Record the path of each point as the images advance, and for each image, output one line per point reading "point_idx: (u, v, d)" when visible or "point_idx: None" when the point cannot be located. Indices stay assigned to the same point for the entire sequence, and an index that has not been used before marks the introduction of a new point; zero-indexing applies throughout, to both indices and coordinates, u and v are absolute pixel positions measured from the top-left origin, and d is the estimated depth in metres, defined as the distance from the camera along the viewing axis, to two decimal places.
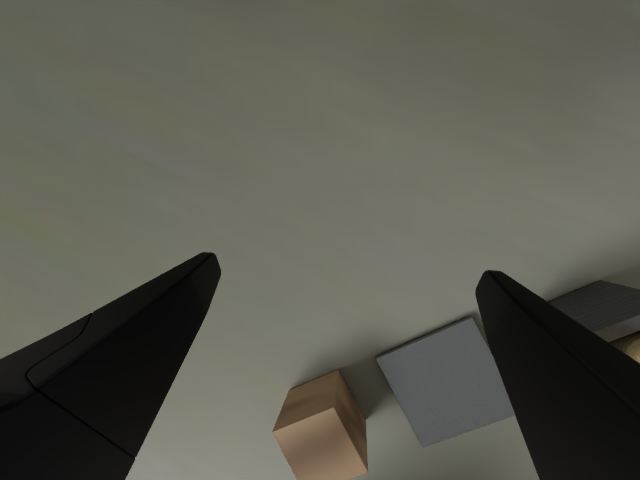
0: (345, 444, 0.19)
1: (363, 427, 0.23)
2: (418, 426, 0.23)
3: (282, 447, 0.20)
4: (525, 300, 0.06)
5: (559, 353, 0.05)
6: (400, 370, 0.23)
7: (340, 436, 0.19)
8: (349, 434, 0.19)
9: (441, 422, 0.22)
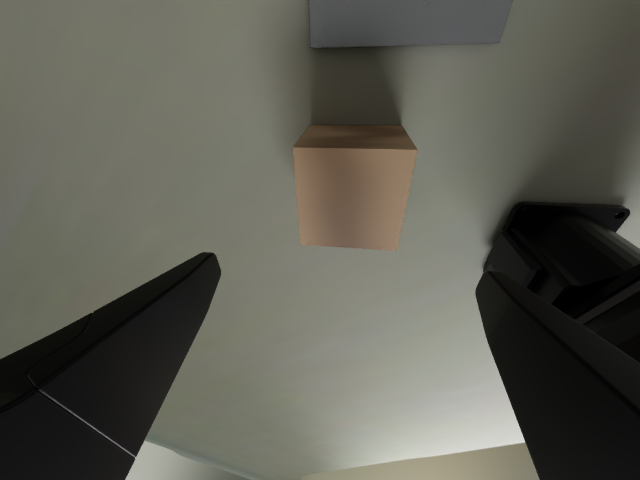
0: (357, 160, 0.11)
1: (396, 130, 0.14)
2: (459, 27, 0.12)
3: (324, 243, 0.14)
4: (525, 300, 0.06)
5: (559, 353, 0.05)
6: (347, 6, 0.12)
7: (341, 161, 0.12)
8: (350, 146, 0.11)
9: None
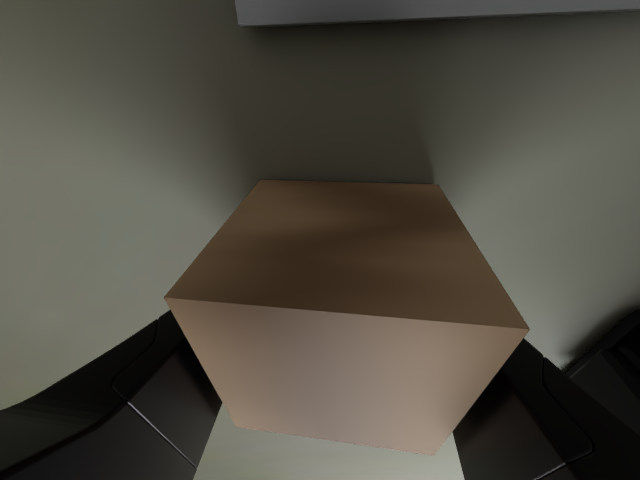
0: (342, 334, 0.04)
1: (432, 205, 0.06)
2: None
3: (283, 431, 0.07)
4: None
5: None
6: None
7: (301, 331, 0.04)
8: (323, 295, 0.04)
9: None
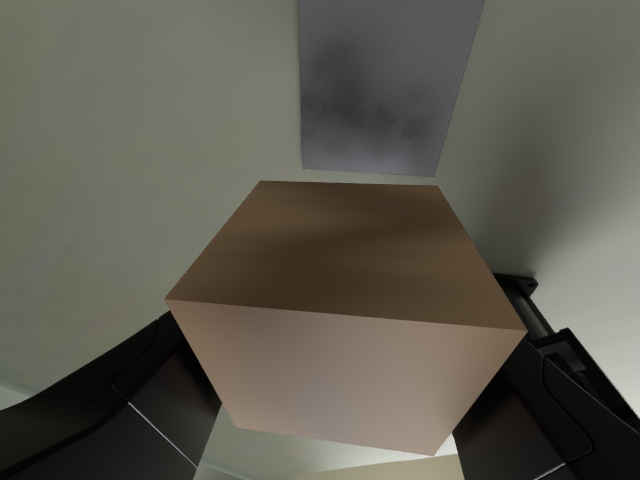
0: (342, 336, 0.04)
1: (431, 206, 0.07)
2: (406, 166, 0.17)
3: (282, 431, 0.07)
4: None
5: None
6: (328, 148, 0.17)
7: (301, 333, 0.04)
8: (323, 297, 0.04)
9: (419, 136, 0.16)
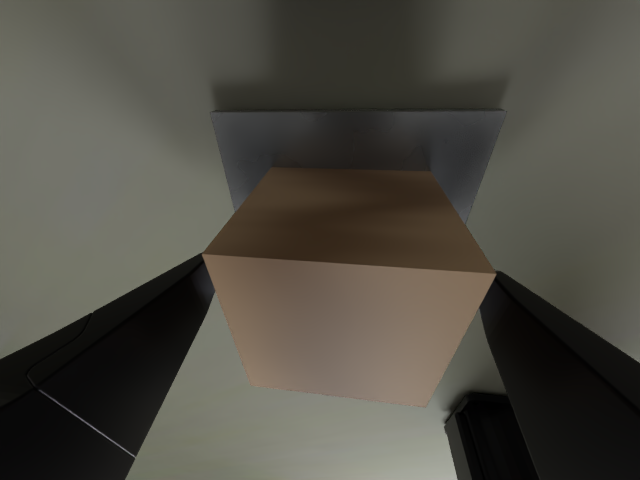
0: (349, 284, 0.05)
1: (424, 187, 0.07)
2: None
3: (292, 387, 0.08)
4: (525, 300, 0.06)
5: (559, 353, 0.05)
6: None
7: (315, 283, 0.05)
8: (333, 252, 0.05)
9: None
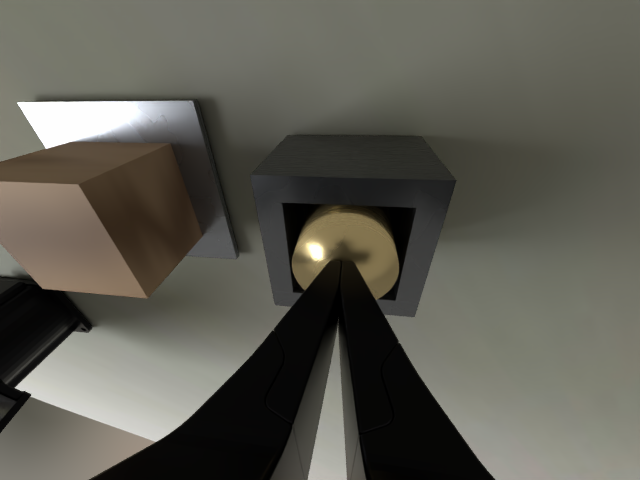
0: (108, 253, 0.10)
1: (188, 242, 0.14)
2: None
3: None
4: (349, 287, 0.07)
5: None
6: (67, 141, 0.13)
7: (99, 239, 0.10)
8: (122, 242, 0.10)
9: None
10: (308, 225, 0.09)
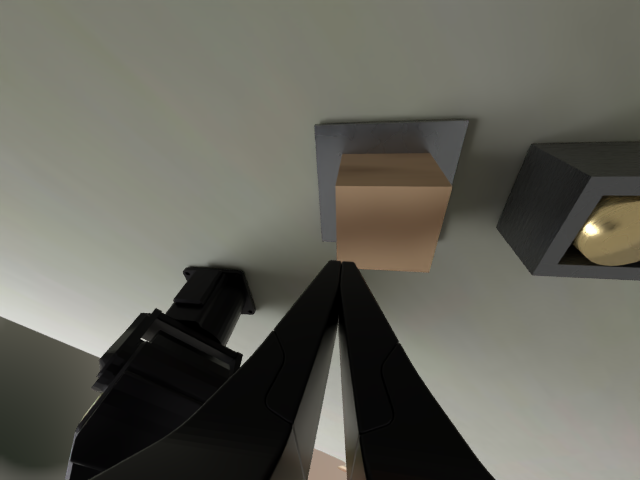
0: (428, 237, 0.14)
1: None
2: (328, 221, 0.20)
3: (339, 210, 0.13)
4: (349, 287, 0.07)
5: None
6: (338, 154, 0.17)
7: (429, 226, 0.13)
8: (438, 229, 0.14)
9: None
10: (605, 207, 0.12)
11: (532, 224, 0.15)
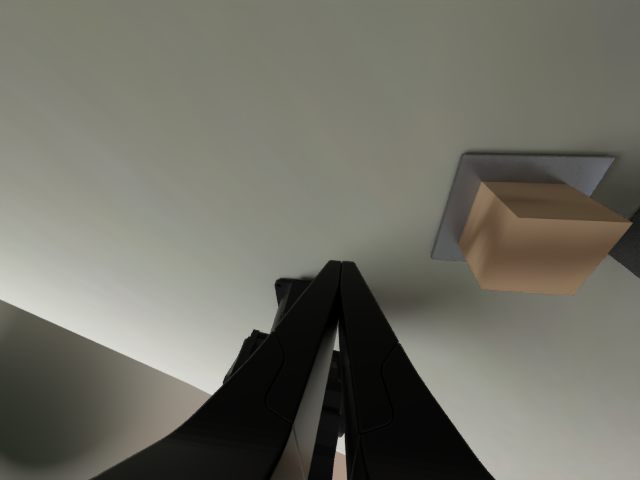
0: (587, 265, 0.15)
1: None
2: (444, 241, 0.21)
3: (511, 239, 0.14)
4: (349, 287, 0.07)
5: None
6: (478, 181, 0.18)
7: (593, 256, 0.14)
8: (596, 257, 0.15)
9: None
10: None
11: None
